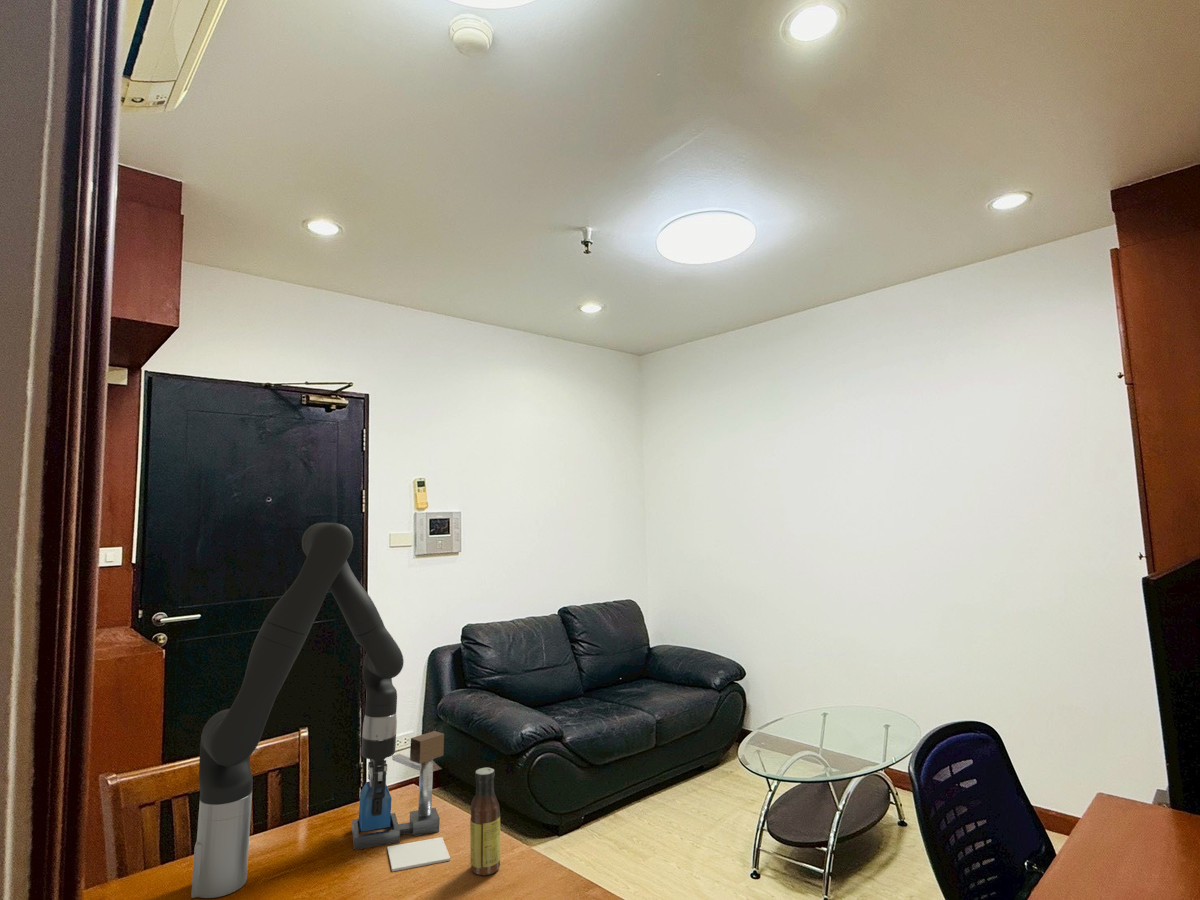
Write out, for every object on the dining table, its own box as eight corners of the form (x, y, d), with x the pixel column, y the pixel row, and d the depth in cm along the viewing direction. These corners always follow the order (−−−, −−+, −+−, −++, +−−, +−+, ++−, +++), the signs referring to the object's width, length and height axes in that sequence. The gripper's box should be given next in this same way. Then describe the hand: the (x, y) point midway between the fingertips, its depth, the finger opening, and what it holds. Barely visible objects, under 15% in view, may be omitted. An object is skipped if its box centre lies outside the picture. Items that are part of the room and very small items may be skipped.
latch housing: (354, 850, 146) (354, 835, 146) (351, 830, 155) (352, 817, 155) (440, 835, 153) (440, 821, 153) (433, 817, 162) (434, 804, 162)
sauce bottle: (503, 862, 142) (506, 765, 144) (495, 878, 135) (498, 777, 137) (473, 860, 142) (476, 764, 144) (464, 876, 136) (468, 775, 138)
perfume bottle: (358, 820, 154) (361, 766, 155) (386, 815, 156) (389, 762, 158) (361, 831, 148) (364, 775, 149) (389, 826, 151) (393, 771, 152)
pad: (392, 871, 137) (392, 869, 137) (387, 849, 146) (387, 846, 147) (450, 860, 142) (450, 858, 142) (442, 839, 151) (442, 837, 151)
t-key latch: (381, 804, 161) (385, 729, 163) (405, 795, 167) (408, 722, 168) (417, 821, 153) (420, 741, 155) (441, 810, 158) (444, 733, 160)
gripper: (360, 725, 159) (356, 798, 158) (364, 745, 146) (359, 824, 144) (392, 722, 162) (388, 794, 161) (399, 741, 149) (395, 819, 147)
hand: (375, 808), depth 153 cm, fingers closed on perfume bottle, 6 cm apart
